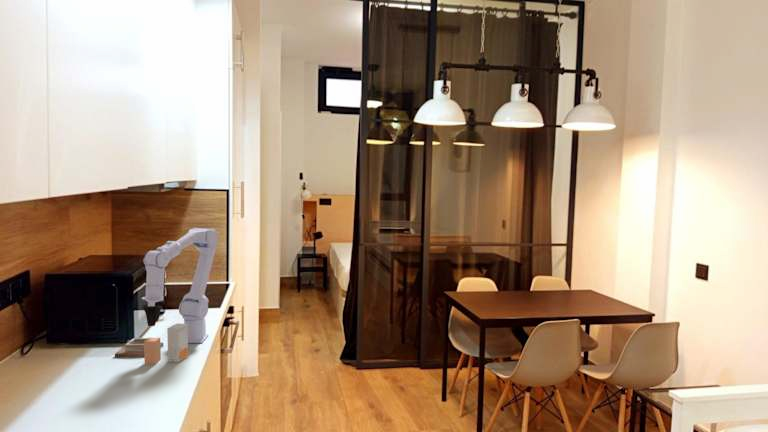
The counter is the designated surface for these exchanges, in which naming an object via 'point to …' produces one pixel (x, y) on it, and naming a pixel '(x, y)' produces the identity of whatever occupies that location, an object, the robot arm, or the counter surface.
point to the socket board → (133, 348)
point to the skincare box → (177, 342)
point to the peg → (152, 350)
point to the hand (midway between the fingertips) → (153, 323)
